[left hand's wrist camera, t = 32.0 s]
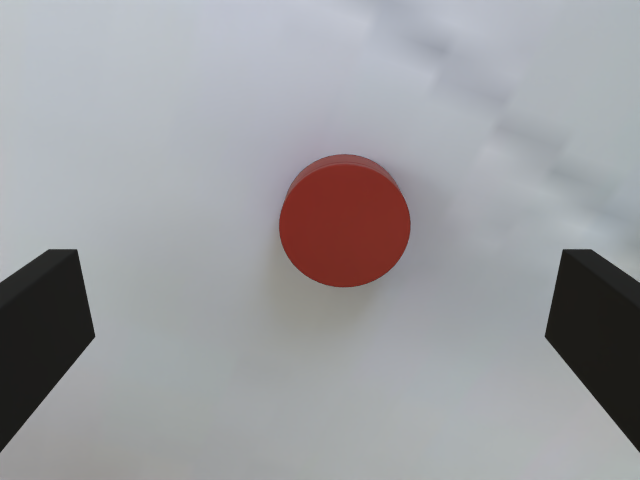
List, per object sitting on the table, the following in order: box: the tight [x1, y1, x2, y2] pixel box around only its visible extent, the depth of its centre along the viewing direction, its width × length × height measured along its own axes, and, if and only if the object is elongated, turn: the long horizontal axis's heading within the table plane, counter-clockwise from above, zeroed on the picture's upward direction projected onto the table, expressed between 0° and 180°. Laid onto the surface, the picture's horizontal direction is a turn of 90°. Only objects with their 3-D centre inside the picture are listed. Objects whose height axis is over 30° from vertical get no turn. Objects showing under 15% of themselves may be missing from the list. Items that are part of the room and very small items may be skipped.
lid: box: [279, 154, 410, 287], centre depth 18 cm, size 5×5×2 cm
